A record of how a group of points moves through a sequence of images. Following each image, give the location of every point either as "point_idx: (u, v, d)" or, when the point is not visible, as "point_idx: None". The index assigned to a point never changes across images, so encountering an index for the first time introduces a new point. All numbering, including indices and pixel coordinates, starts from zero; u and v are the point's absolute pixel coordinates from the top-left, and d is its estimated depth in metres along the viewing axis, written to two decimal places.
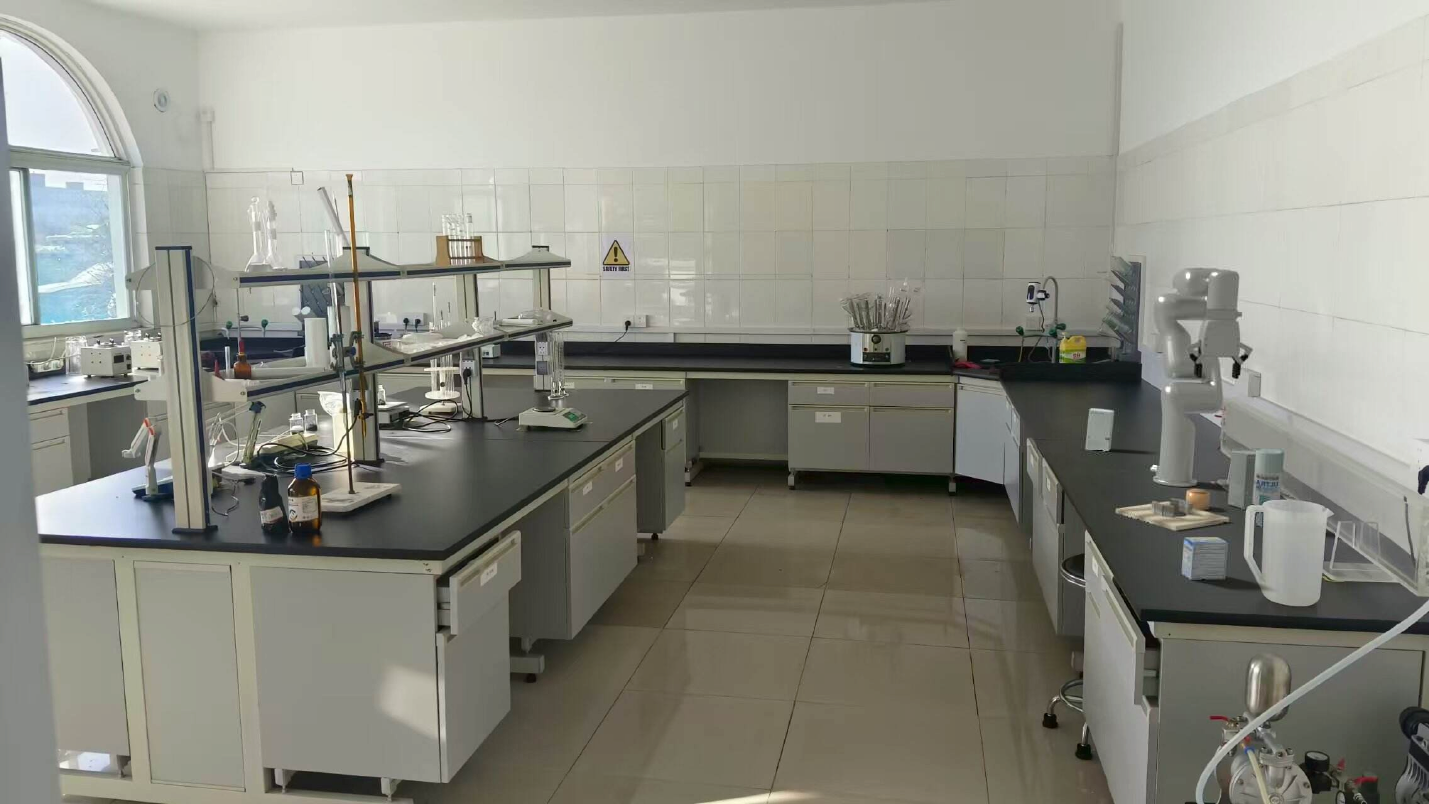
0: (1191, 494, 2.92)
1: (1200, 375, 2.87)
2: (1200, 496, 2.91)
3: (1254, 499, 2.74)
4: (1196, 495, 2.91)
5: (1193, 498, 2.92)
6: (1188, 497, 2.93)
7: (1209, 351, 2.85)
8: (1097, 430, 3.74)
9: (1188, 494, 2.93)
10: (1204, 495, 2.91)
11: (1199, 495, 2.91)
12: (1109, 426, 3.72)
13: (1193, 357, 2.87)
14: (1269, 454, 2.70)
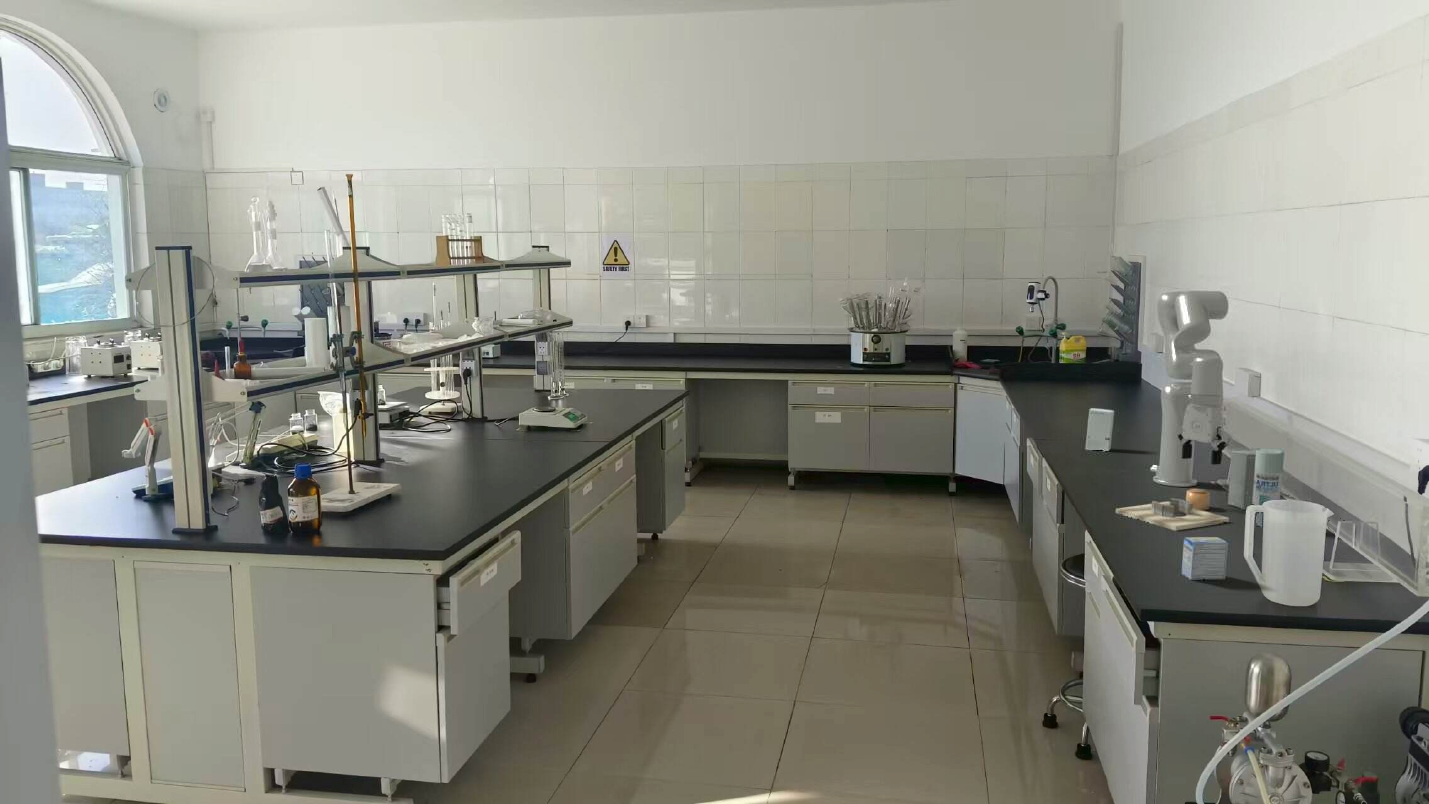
0: (1191, 494, 2.92)
1: None
2: (1200, 496, 2.91)
3: (1254, 499, 2.74)
4: (1196, 495, 2.91)
5: (1193, 498, 2.92)
6: (1188, 497, 2.93)
7: None
8: (1097, 430, 3.74)
9: (1188, 494, 2.93)
10: (1204, 495, 2.91)
11: (1199, 495, 2.91)
12: (1109, 426, 3.72)
13: None
14: (1269, 454, 2.70)
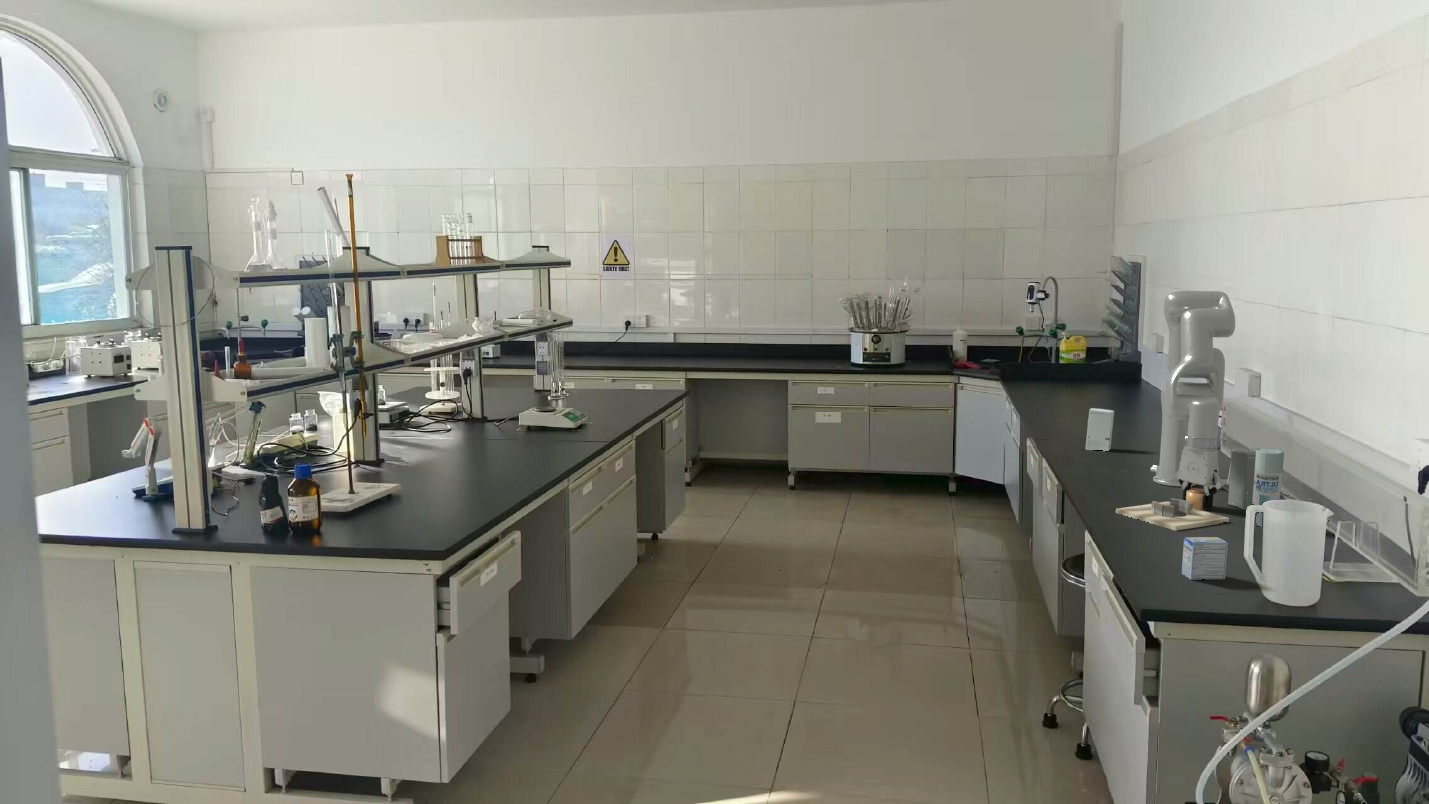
0: (1191, 494, 2.92)
1: None
2: (1200, 496, 2.91)
3: (1254, 499, 2.74)
4: (1196, 495, 2.91)
5: (1193, 498, 2.92)
6: (1188, 497, 2.93)
7: None
8: (1097, 430, 3.74)
9: (1188, 494, 2.93)
10: None
11: (1199, 495, 2.91)
12: (1109, 426, 3.72)
13: None
14: (1269, 454, 2.70)
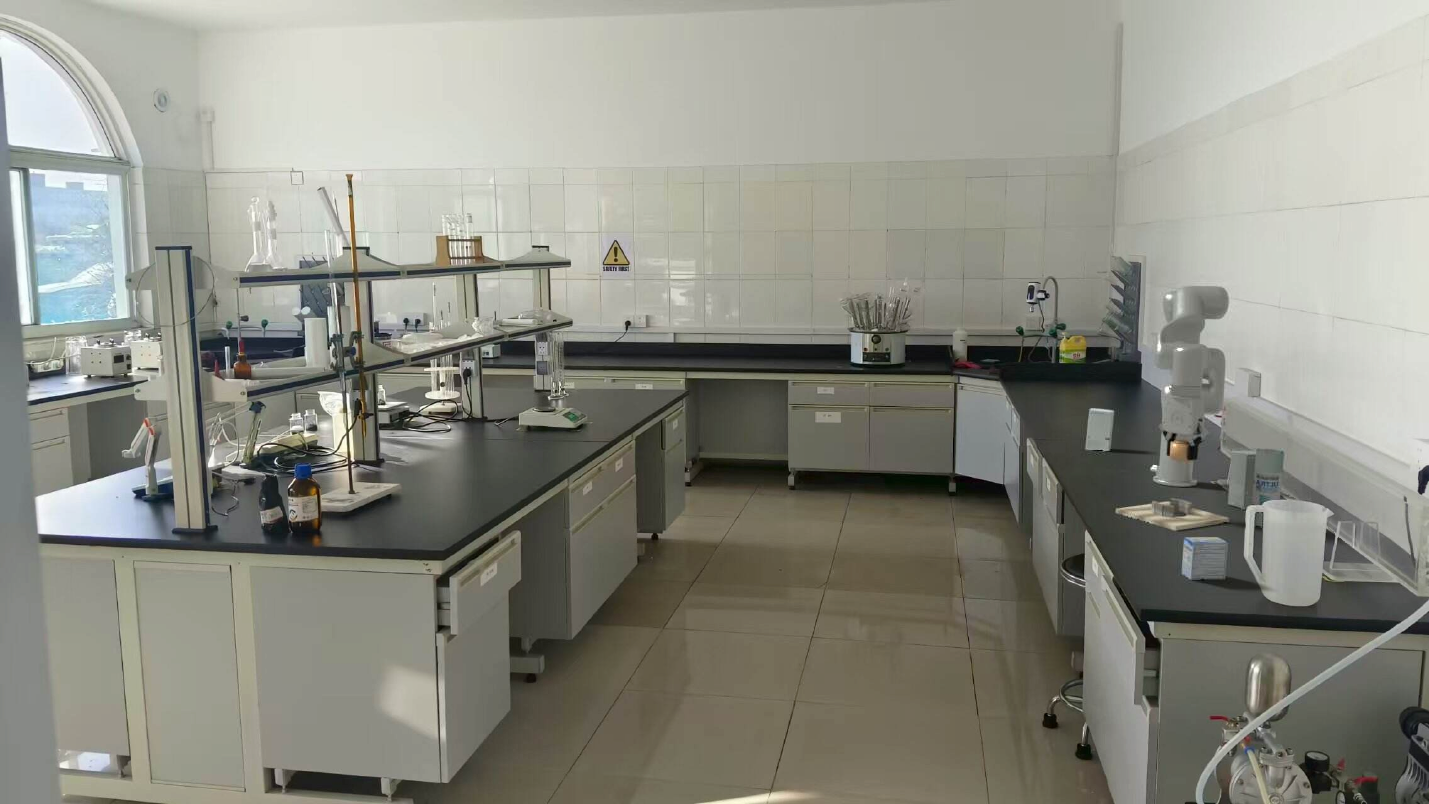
0: (1175, 445, 2.81)
1: None
2: (1185, 446, 2.79)
3: (1254, 499, 2.74)
4: (1180, 445, 2.80)
5: (1177, 449, 2.80)
6: (1172, 448, 2.82)
7: None
8: (1097, 430, 3.74)
9: (1172, 445, 2.82)
10: None
11: (1184, 445, 2.79)
12: (1109, 426, 3.72)
13: None
14: (1269, 454, 2.70)
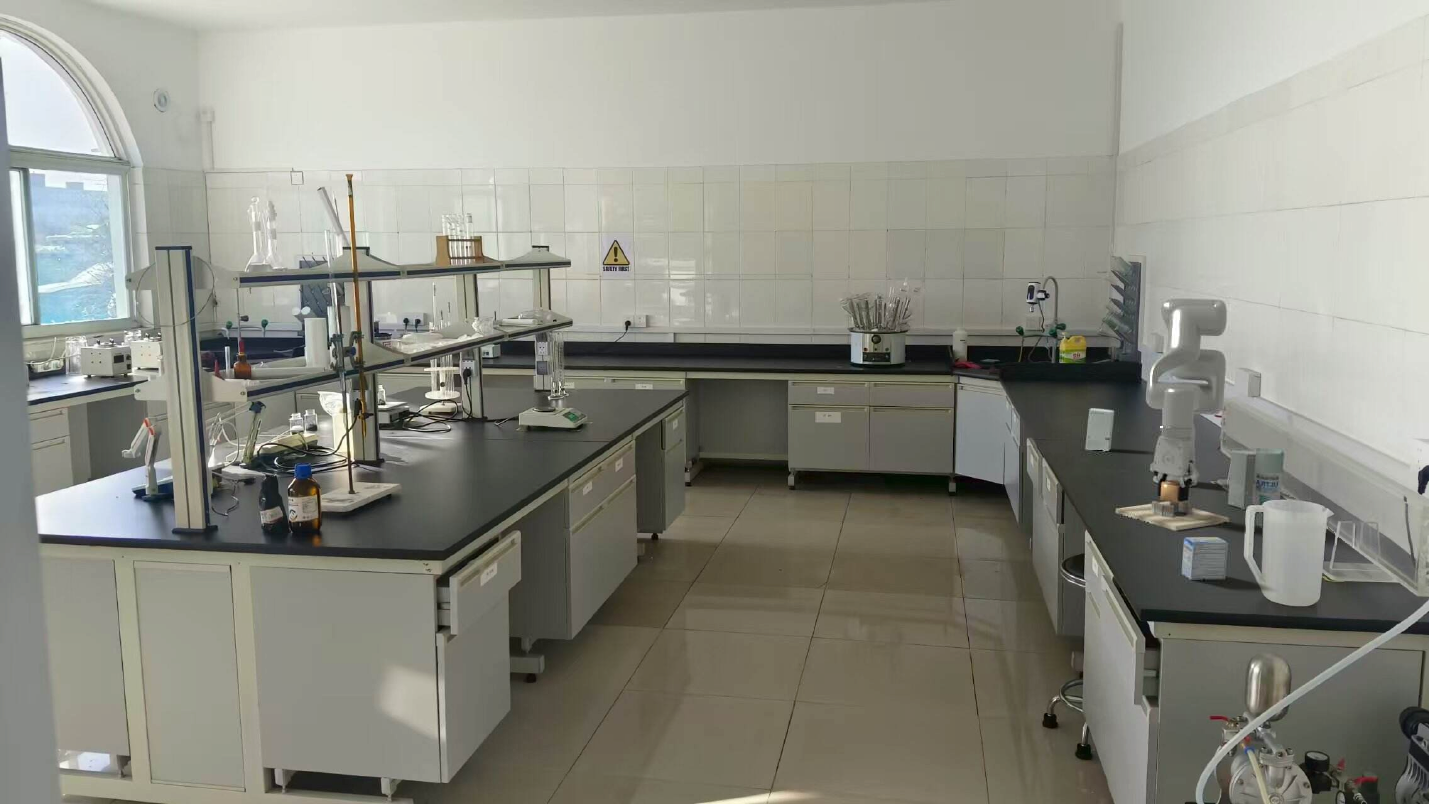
0: (1166, 486, 2.80)
1: None
2: (1175, 488, 2.79)
3: (1254, 499, 2.74)
4: (1171, 487, 2.79)
5: (1168, 490, 2.80)
6: (1163, 489, 2.81)
7: None
8: (1097, 430, 3.74)
9: (1163, 486, 2.81)
10: None
11: (1174, 487, 2.79)
12: (1109, 426, 3.72)
13: None
14: (1269, 454, 2.70)
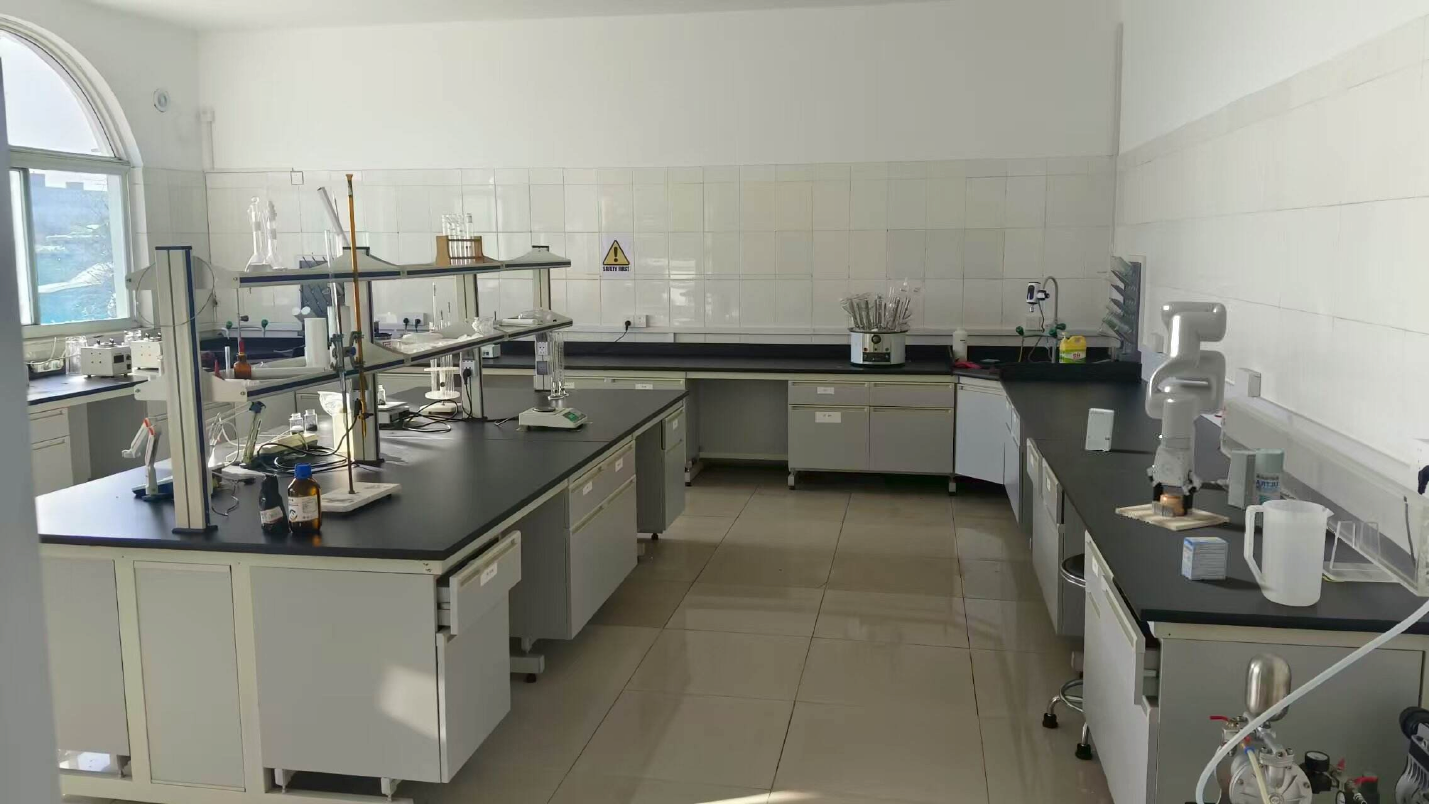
0: (1165, 499, 2.81)
1: None
2: (1174, 501, 2.79)
3: (1254, 499, 2.74)
4: (1170, 500, 2.80)
5: (1167, 503, 2.80)
6: (1162, 502, 2.82)
7: None
8: (1097, 430, 3.74)
9: (1162, 499, 2.82)
10: (1178, 500, 2.79)
11: (1173, 500, 2.79)
12: (1109, 426, 3.72)
13: None
14: (1269, 454, 2.70)
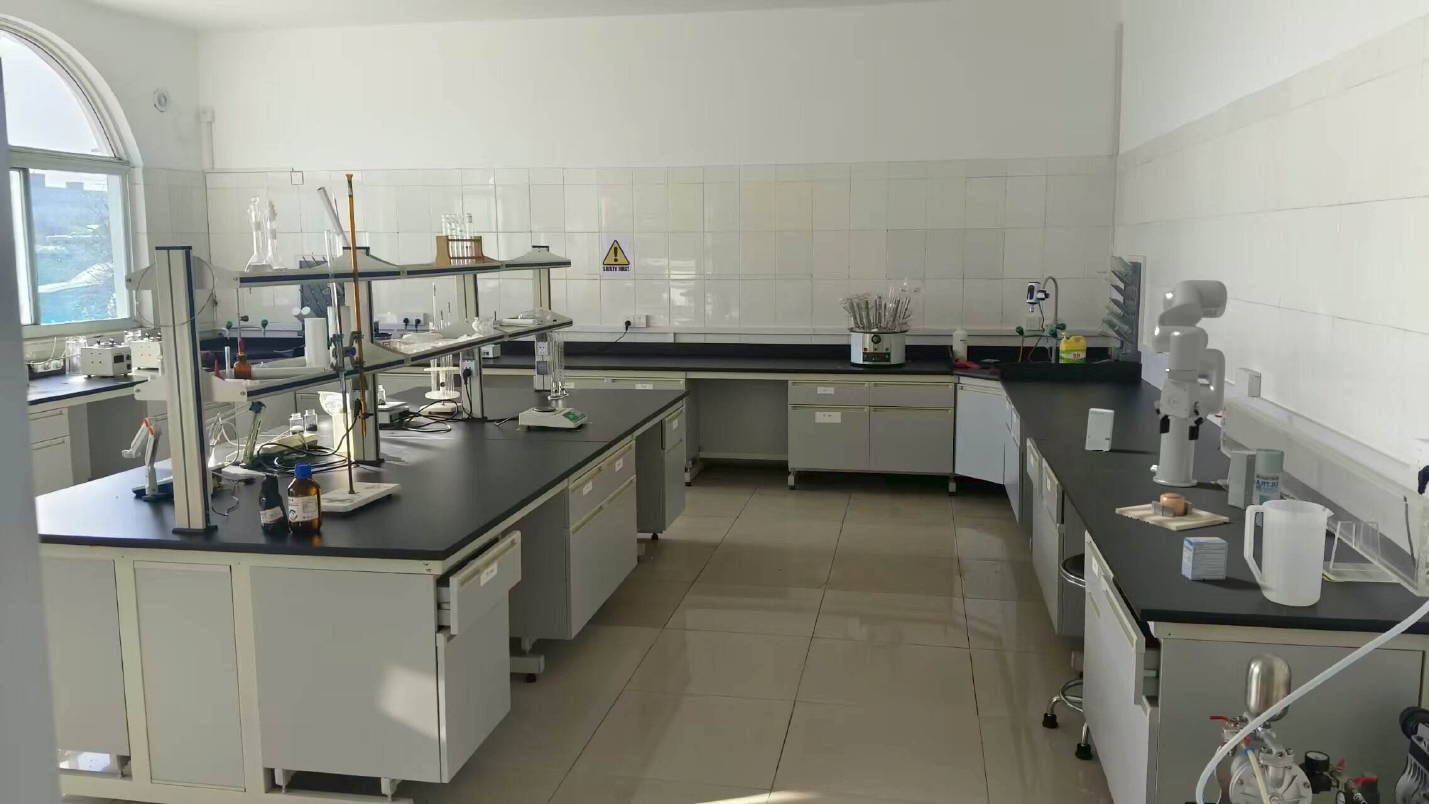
0: (1165, 499, 2.81)
1: None
2: (1174, 501, 2.79)
3: (1254, 499, 2.74)
4: (1170, 500, 2.80)
5: (1167, 503, 2.80)
6: (1162, 502, 2.82)
7: None
8: (1097, 430, 3.74)
9: (1162, 499, 2.82)
10: (1178, 500, 2.79)
11: (1173, 500, 2.79)
12: (1109, 426, 3.72)
13: None
14: (1269, 454, 2.70)
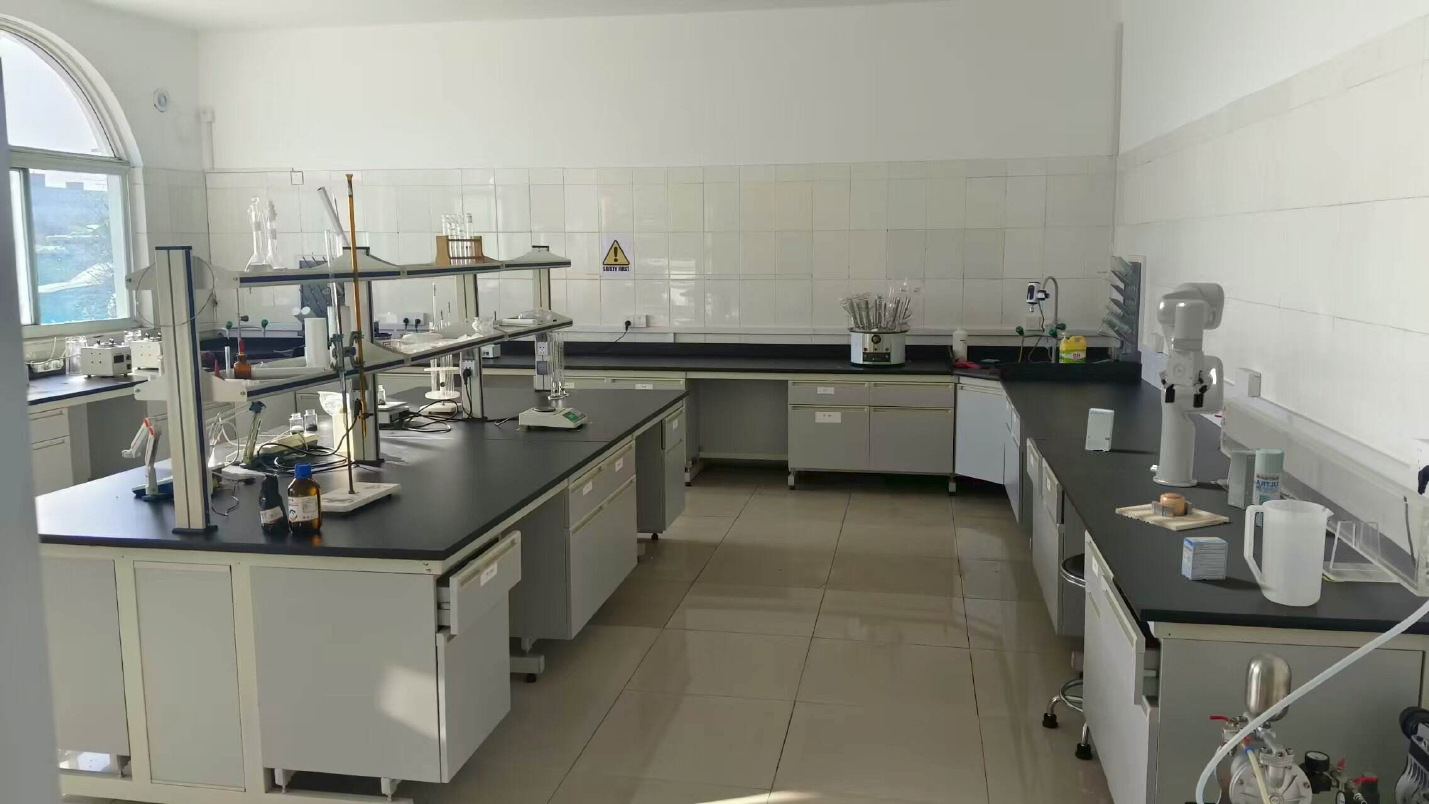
0: (1165, 499, 2.81)
1: None
2: (1174, 501, 2.79)
3: (1254, 499, 2.74)
4: (1170, 500, 2.80)
5: (1167, 503, 2.80)
6: (1162, 502, 2.82)
7: None
8: (1097, 430, 3.74)
9: (1162, 499, 2.82)
10: (1179, 500, 2.79)
11: (1173, 500, 2.79)
12: (1109, 426, 3.72)
13: None
14: (1269, 454, 2.70)
